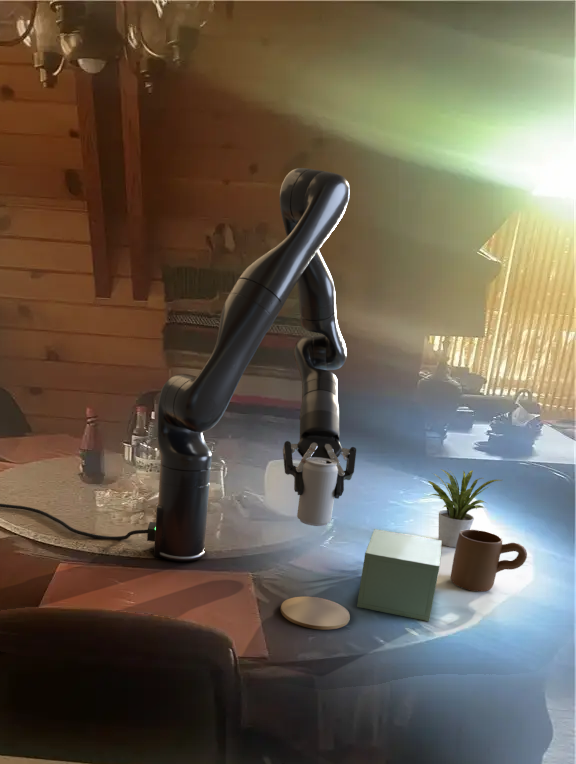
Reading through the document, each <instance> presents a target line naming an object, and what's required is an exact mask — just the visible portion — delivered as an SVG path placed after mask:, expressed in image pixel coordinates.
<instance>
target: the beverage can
mask: <svg viewBox="0 0 576 764" xmlns="http://www.w3.org/2000/svg"><path fill="white" fill-rule="evenodd" d="M323 460H324V461H323ZM326 461H327V462H328V463H327V464H326ZM336 465H337V462H336V461H334V460H331V459H327V458H320V457H311V458H307V459H306V463H305V464H304V465H303V474H302V475H303V492H302V495H299V498H298V507H297V513H296V517H297V519H298V520H299V521H300V523H302V524H304V525H308V526H313V527H324V526H326V525H328V524H329V523H330V522H331V521H332V516H333V509H334V502H335V498H334V495H335V488H336V481H337V474H338V468H337V466H336Z"/></svg>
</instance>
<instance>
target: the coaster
mask: <svg viewBox="0 0 576 764" xmlns="http://www.w3.org/2000/svg"><path fill="white" fill-rule="evenodd" d="M280 613H281V615H282V616H283V617H284V618H285V619H286V620H287V621H289V622H291V623H293V624H295V625H297V626H300V627H303V628H307V629H313V630H323V631H325V630H326V631H328V630H329V631H330V630H337V629H340V628H344V627H345V626H347V625H348V624H349V623H350V619H351V615H350V612H349V611H348V609H347V608H346V607H344V606H343V605H341V604H339V603H337V602H335V601H333V600H330V599H326V598H322V597H317V596H294V597H290V598H287V599H285V600H283V602H282V603H281V604H280Z"/></svg>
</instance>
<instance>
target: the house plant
mask: <svg viewBox="0 0 576 764" xmlns="http://www.w3.org/2000/svg"><path fill="white" fill-rule="evenodd" d="M440 470H441V471H443V472H444V474H445V476H447V478H448V480H449V481H450V483H449V482H447V481H445V482H444V480H443V479H442V478H441V477H440V476H439V475H437V474H435V473H434V472H433V473H432V472H431V474H433V475H434V476H436V477H437V478H438V479H439V480H440V481H441V482H442V484H443V485H444V487H445V488H446V490H447V492H448V494H447V492H446V491H444V489H442V488H441V487H440V486H439V485H437V484H436V483H435V482H433V481H430V480H427V482H428V483H429V484H430V485H431V486H432V488H433V490H434V491H435V492H436V493H431V494H429V495H428V497H430V496H435V497H438V498H439V499H440V500H442V501H443V503H444V505H443V508H446V509H445V510H443V509H442V510H440V511H438V539H437V540H442V544H441V545H443V546H446V547H450V548H456V544H457V540H458V537H459V533H460V532H461V531H462V530H471V528H472V525H473V522H474V520H475V517H474V516H473V515H471V514H469V513H468V512H470V511H471V510H474V509H475V510H477V509H481V508H483V509H485V507H484V506H483V505H479V504H483V503H486V504H487V502H486V501H484V500H481V499H477V500H474V499H475V498H476V497H477V496H479V494H481V493H482V492H483V491H485V490H486V489H488V488H490V487H491V485H490V484H492V483H495V482H499V481H501V482H502V479H492V480H488V481H486V482H484V483H482V484H481V485H480V486H479V487H478V488H476V489H475V490H474V488H475V487H476V485H477V483H478V481H479V480H481V479H483V477H479V478H476V479H475V480H473V482H472V484H471V485H470V487H469V488H468V486H469V483H470V481H471V479H472V476H473V473H474V470H473V469H472V470H470V471H469V472H468V473H467V474H466V472H465V470H463V471H462V479H461V486H459V483H458V480H457V478H456V476H455V475H454V473H453V472H452V471H451V470H450V469H448V471H449V472H450V473H451V474H450V473H449V472H448V471H446V470H444V469H441V468H440ZM488 485H490V486H488ZM486 486H487V487H486ZM473 490H474V491H473ZM472 492H473V493H472ZM449 496H450V497H449ZM473 500H474V501H473ZM487 506H489V504H487Z"/></svg>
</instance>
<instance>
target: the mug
mask: <svg viewBox="0 0 576 764" xmlns="http://www.w3.org/2000/svg"><path fill="white" fill-rule="evenodd" d="M511 552H512V553H513V552H516V553H517V556H516V557H515V558H514V559H500V558H501V554H507V553H511ZM527 558H528V551H527V549H526V548H525V546H524V545H522V544H520V543H517V542H508V543H503V538H502V537H500V536H499V535H497V534H495V533H492V532H489V531H485V530H480V529H470V530H462V531H461V532H460V533H459V537H458V540H457V544H456V547H455V548H454V555H453V558H452V559H453V560H452V565H451V569H450V570H451V571H450V581H451V583H453V584H454V585H455V586H456V587H459V588H461V589H464V590H468V591H472V592H487V591H490V590H492V589H493V587H494V584H495V580H496V575H497V573H499V572H502V571H504V570H507V571H509V570H516V569H519V568H520V567H522V566H523V565H524V563H526V560H527Z"/></svg>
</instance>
